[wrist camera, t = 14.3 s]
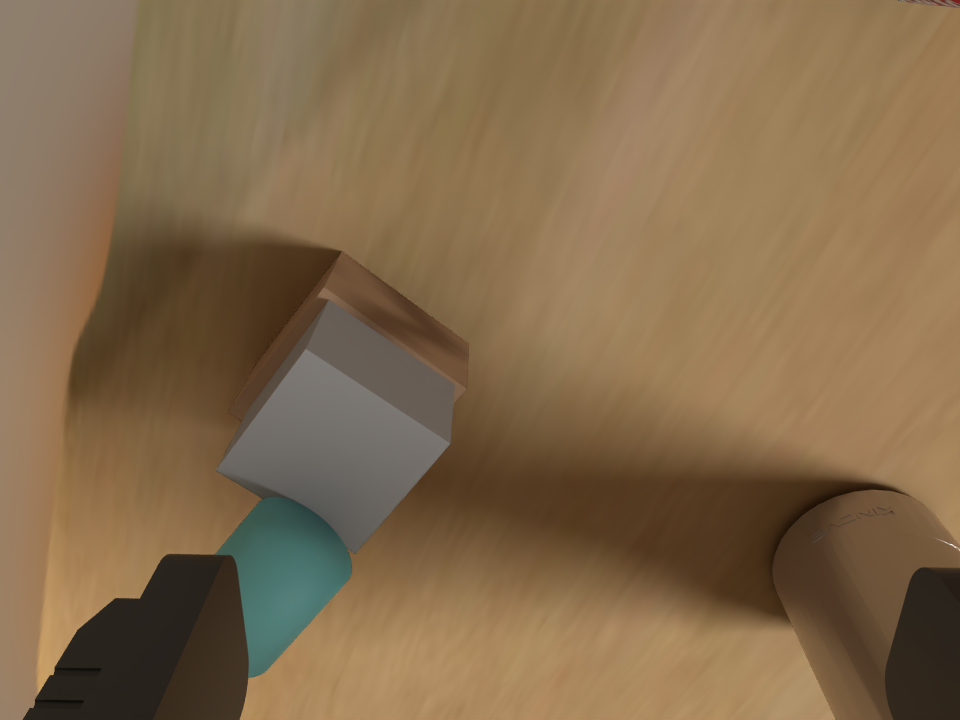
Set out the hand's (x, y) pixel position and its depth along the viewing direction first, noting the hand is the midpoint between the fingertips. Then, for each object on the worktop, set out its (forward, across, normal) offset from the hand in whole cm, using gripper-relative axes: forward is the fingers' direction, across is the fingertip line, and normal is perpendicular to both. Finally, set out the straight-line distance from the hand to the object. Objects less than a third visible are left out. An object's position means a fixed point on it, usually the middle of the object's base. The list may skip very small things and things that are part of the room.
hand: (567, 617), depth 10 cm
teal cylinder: (+18, +8, +12) cm, 23 cm away
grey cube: (+25, +7, +10) cm, 28 cm away
